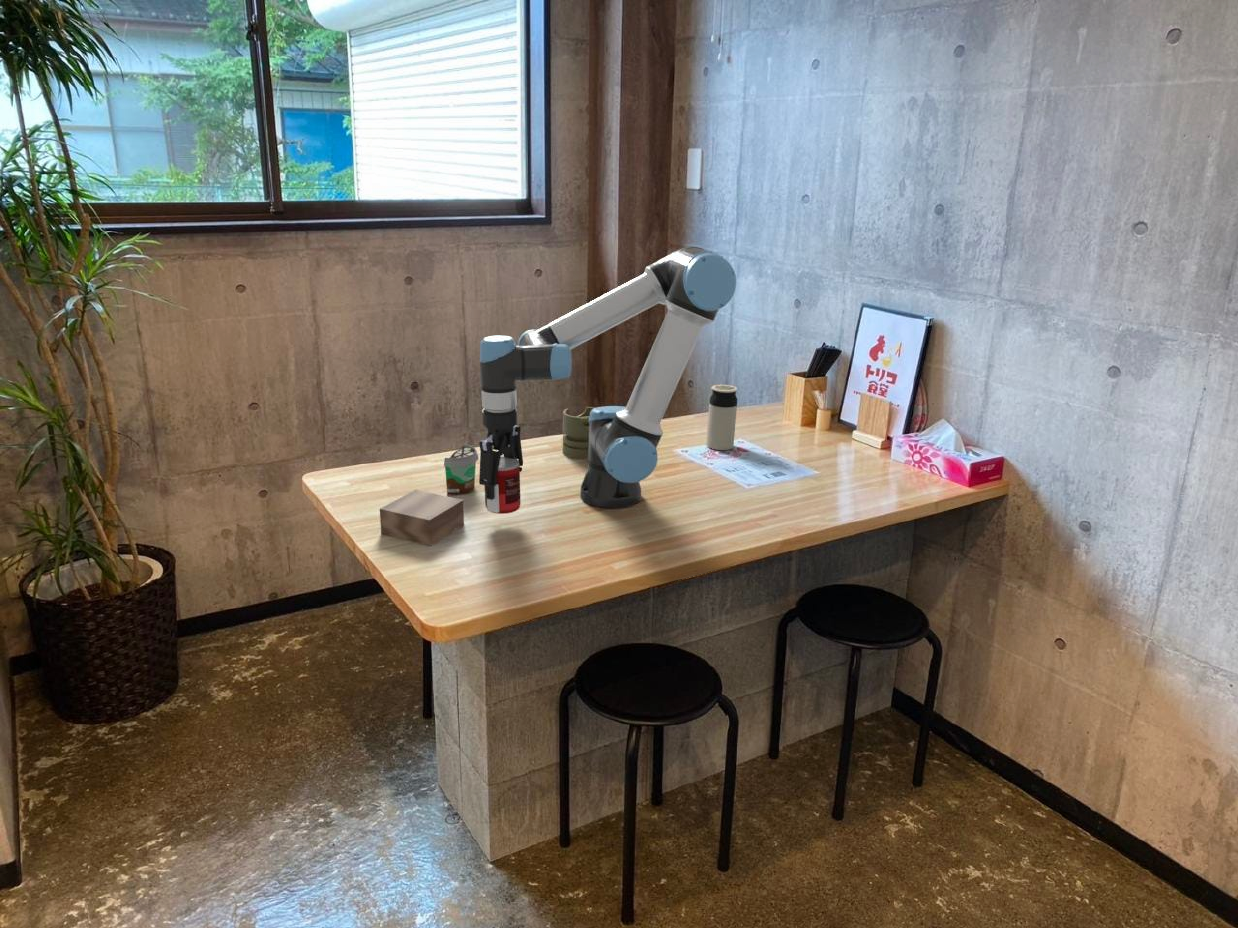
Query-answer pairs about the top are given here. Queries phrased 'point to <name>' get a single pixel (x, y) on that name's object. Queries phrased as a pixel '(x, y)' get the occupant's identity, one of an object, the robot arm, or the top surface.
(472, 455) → the food container
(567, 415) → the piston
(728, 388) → the travel mug
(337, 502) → the top surface
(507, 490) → the canned food
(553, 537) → the top surface
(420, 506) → the walnut stand
